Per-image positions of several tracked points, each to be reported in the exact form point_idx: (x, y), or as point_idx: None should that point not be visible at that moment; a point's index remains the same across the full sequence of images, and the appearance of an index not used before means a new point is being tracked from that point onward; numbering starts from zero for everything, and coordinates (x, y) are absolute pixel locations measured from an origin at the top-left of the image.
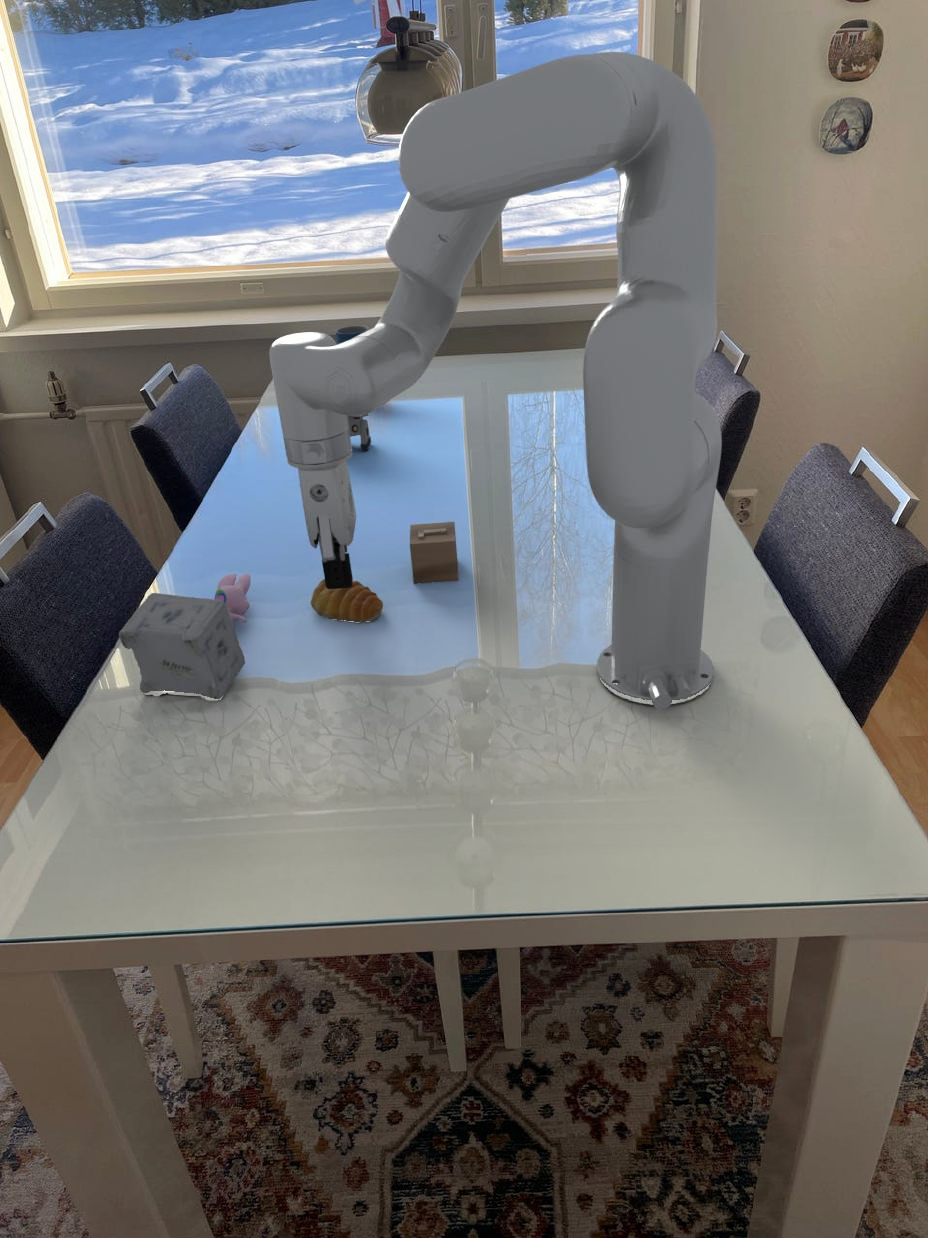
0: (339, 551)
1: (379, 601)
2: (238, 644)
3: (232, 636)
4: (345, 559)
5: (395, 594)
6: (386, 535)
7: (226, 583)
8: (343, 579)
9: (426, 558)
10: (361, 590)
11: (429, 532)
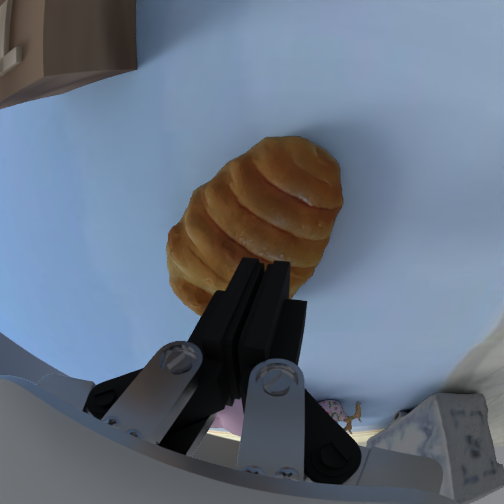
0: (345, 454)
1: (287, 148)
2: (444, 427)
3: (453, 447)
4: (278, 362)
5: (186, 107)
6: (5, 171)
7: (213, 424)
8: (304, 309)
9: (85, 28)
10: (247, 211)
11: (5, 40)
